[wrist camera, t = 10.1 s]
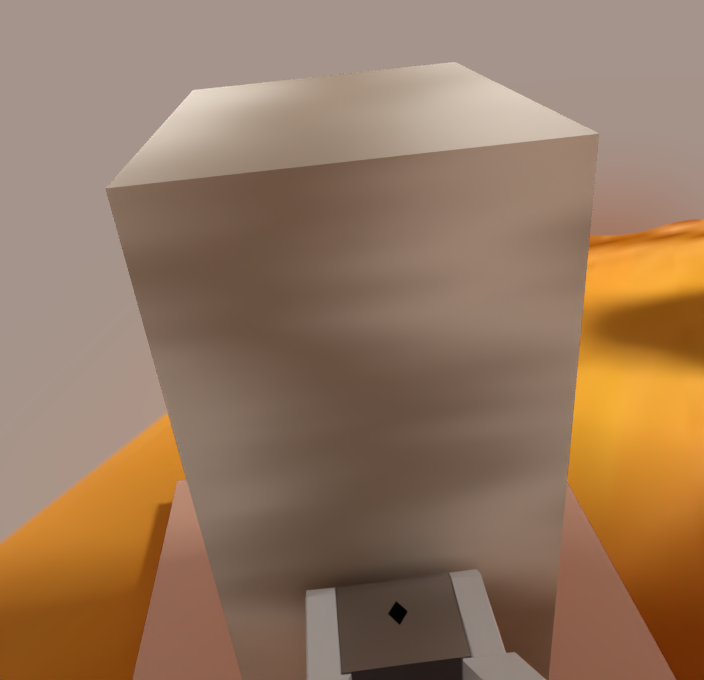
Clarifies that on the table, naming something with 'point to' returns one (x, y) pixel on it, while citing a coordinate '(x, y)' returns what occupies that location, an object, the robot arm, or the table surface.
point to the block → (366, 337)
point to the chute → (568, 631)
